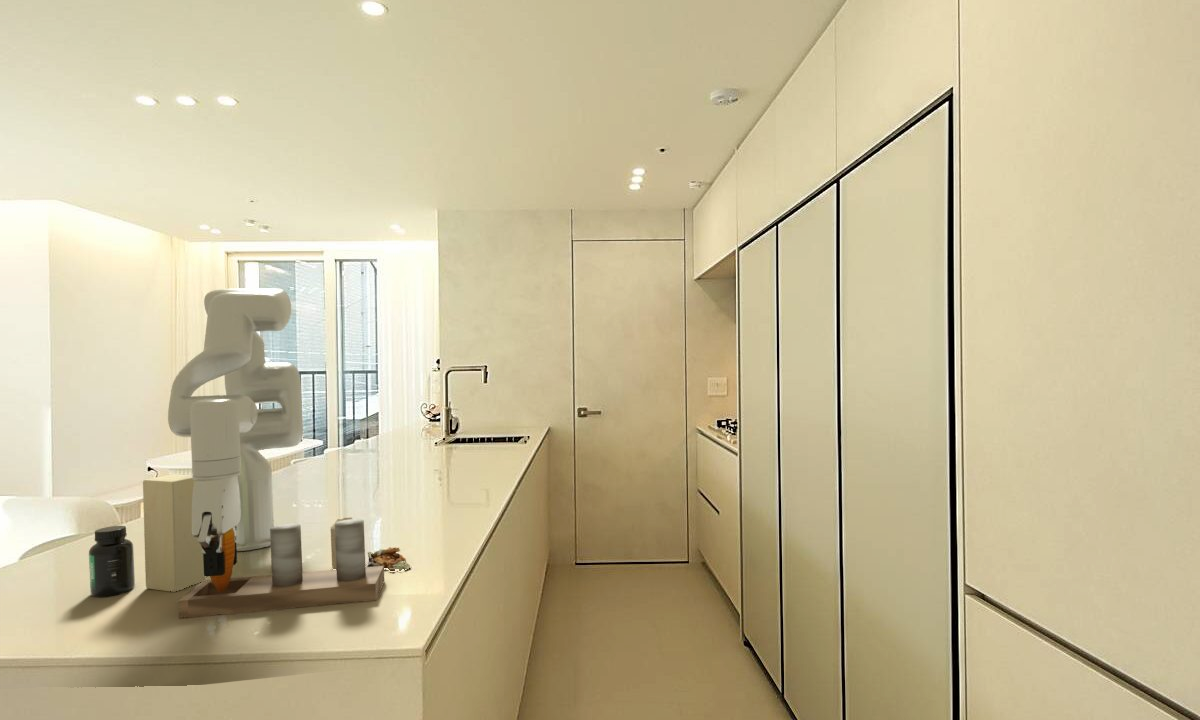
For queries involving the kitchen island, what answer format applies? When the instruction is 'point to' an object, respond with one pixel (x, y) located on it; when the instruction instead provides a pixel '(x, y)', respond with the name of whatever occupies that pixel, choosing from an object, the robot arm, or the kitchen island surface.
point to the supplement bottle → (111, 562)
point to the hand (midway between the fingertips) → (221, 569)
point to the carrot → (229, 554)
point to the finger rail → (279, 596)
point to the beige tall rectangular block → (170, 534)
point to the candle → (333, 546)
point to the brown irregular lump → (388, 559)
